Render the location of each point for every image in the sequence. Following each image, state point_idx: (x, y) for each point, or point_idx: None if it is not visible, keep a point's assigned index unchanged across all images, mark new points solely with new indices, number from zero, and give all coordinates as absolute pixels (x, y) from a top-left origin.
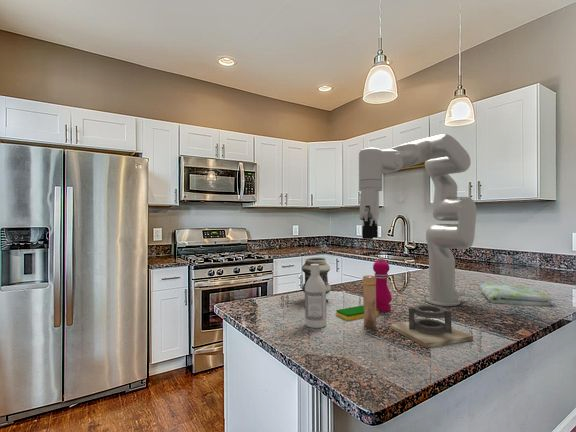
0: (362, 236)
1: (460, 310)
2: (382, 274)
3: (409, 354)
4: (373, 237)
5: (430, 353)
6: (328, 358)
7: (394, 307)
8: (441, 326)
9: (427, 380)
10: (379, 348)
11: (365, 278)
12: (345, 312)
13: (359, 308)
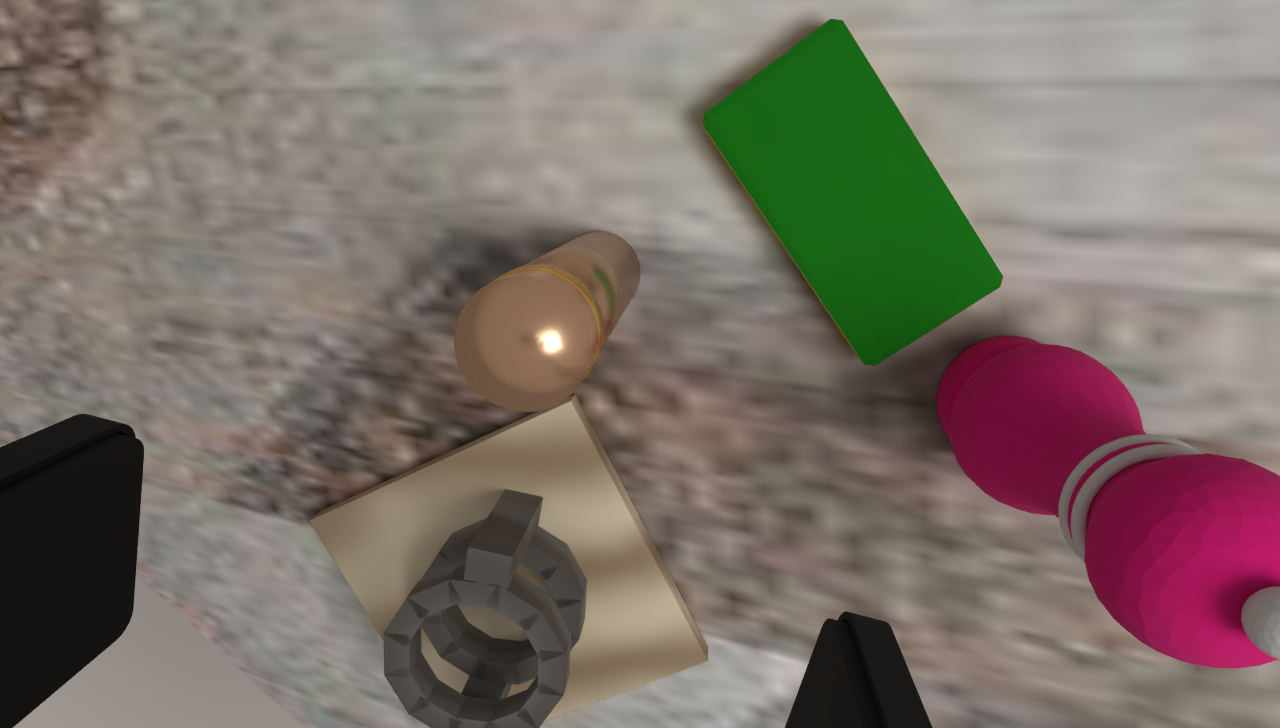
0: (49, 426)
1: None
2: (1088, 526)
3: (226, 419)
4: (799, 718)
5: (262, 512)
6: (71, 11)
7: None
8: (452, 653)
9: (7, 433)
10: (261, 289)
11: (469, 299)
12: (764, 100)
13: (881, 220)
